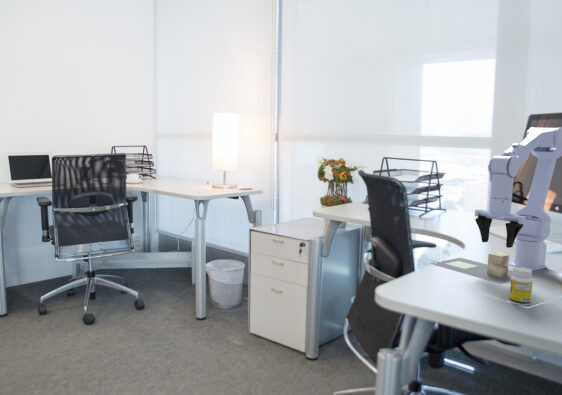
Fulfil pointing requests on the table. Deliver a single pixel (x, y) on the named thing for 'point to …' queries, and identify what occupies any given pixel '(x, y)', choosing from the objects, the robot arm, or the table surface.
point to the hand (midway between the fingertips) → (496, 244)
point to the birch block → (498, 264)
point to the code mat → (473, 269)
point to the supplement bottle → (521, 286)
